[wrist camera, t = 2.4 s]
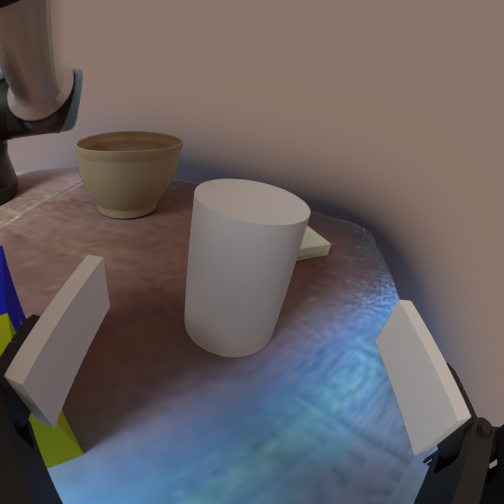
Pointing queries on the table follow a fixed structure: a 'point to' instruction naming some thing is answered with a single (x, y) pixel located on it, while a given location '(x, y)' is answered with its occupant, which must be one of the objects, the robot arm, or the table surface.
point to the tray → (313, 245)
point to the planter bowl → (127, 170)
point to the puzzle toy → (48, 438)
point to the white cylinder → (240, 263)
